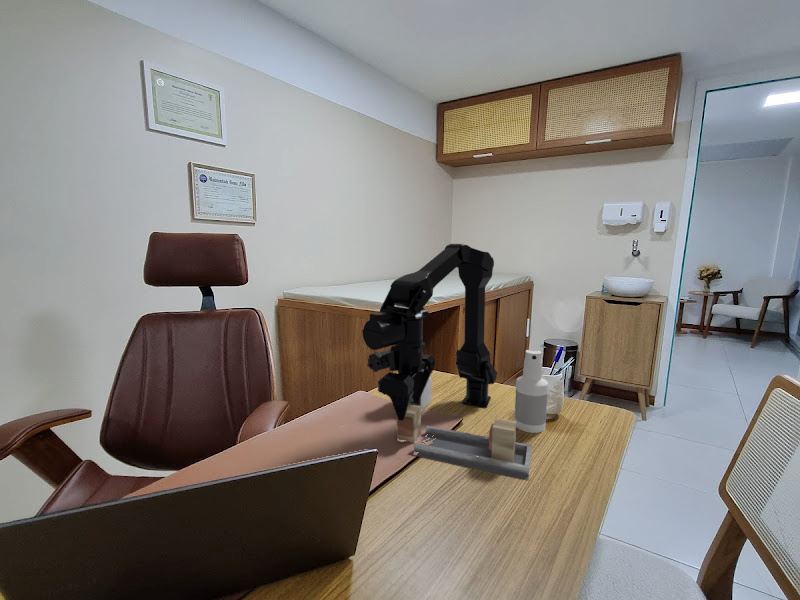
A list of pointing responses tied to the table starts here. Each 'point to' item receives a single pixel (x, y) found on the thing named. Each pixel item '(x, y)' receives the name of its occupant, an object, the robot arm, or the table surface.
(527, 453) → the grey tray
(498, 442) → the beige upright rectangular block
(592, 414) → the table surface
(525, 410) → the spray bottle
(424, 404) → the medicine bottle
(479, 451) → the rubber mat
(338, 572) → the table surface
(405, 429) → the beech finger
